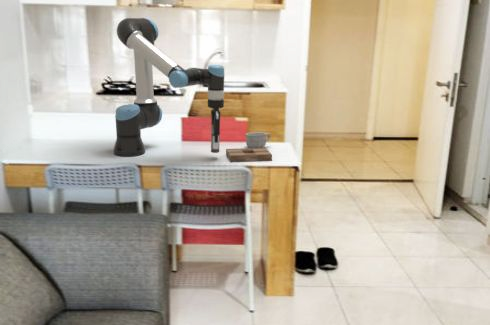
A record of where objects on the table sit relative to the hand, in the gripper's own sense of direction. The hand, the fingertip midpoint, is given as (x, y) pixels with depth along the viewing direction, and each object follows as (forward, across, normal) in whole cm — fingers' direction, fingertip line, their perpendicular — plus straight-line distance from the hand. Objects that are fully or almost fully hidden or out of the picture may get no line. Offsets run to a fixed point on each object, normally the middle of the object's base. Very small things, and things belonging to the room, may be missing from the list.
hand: (215, 147), depth 253 cm
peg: (+2, 0, 0) cm, 2 cm away
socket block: (+5, 0, -16) cm, 17 cm away
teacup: (+6, +19, -25) cm, 32 cm away
